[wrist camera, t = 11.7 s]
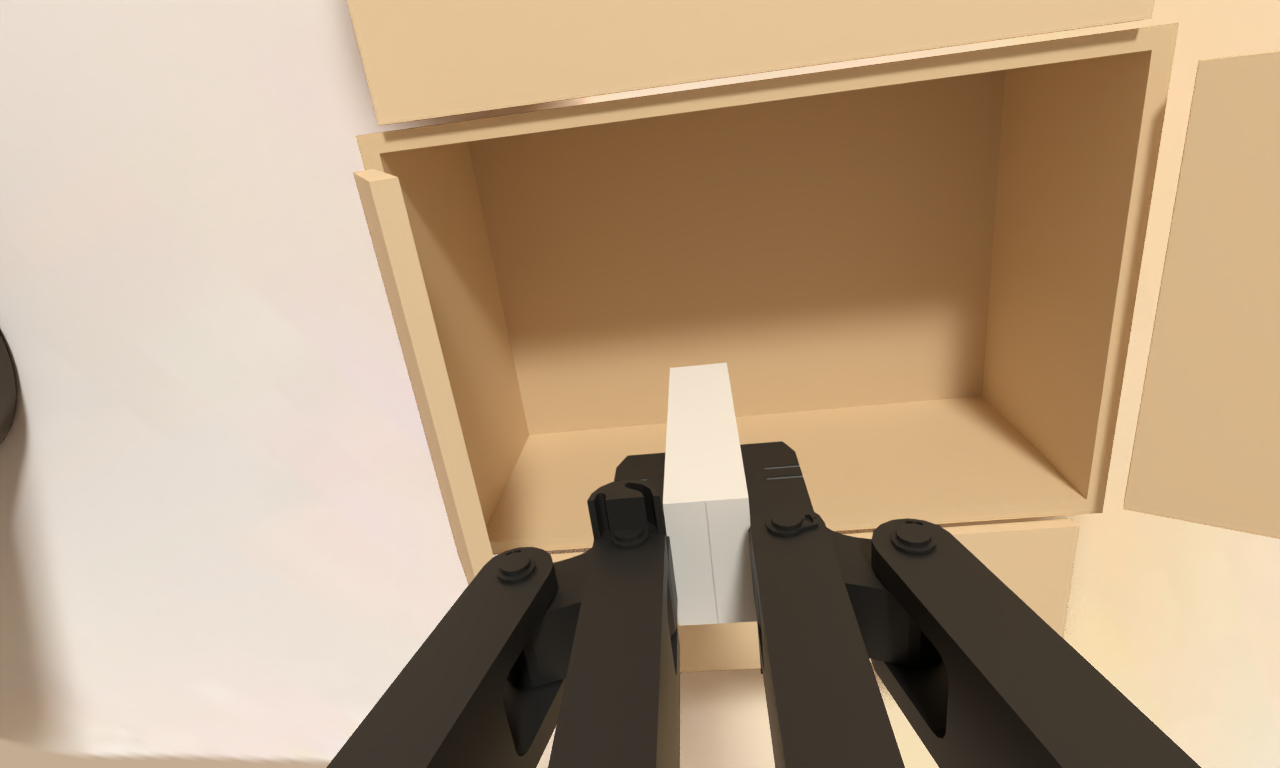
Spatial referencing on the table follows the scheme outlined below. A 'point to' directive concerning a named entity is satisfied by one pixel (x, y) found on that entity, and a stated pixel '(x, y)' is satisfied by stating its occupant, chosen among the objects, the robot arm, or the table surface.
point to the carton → (783, 251)
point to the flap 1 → (424, 363)
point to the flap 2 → (1219, 315)
